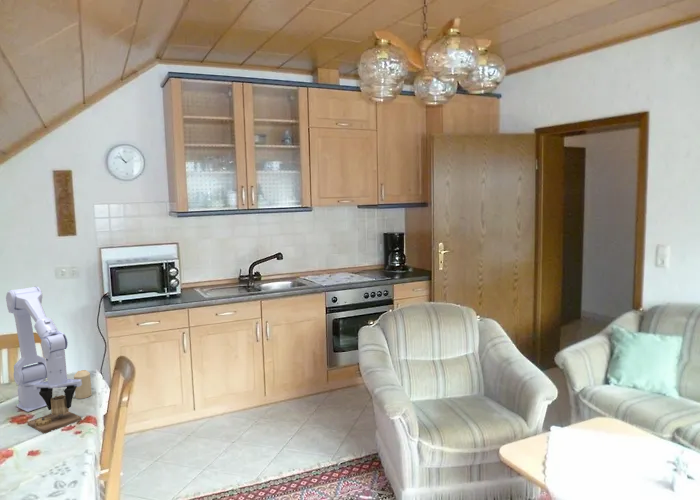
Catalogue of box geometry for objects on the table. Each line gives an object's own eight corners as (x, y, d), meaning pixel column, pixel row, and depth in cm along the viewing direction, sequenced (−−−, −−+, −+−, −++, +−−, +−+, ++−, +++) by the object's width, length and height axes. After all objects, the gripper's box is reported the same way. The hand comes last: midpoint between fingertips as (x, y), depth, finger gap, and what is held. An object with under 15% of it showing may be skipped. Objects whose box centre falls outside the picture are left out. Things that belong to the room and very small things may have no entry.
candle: (84, 399, 191) (82, 373, 190) (72, 398, 192) (70, 373, 191) (94, 393, 196) (93, 368, 195) (82, 393, 197) (80, 368, 196)
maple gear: (48, 413, 172) (47, 398, 171) (64, 407, 176) (63, 393, 176) (56, 416, 169) (54, 402, 168) (71, 410, 173) (70, 396, 173)
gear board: (27, 424, 170) (26, 411, 169) (64, 412, 179) (63, 398, 179) (44, 433, 163) (43, 419, 162) (81, 419, 173) (80, 406, 172)
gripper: (27, 375, 166) (31, 414, 167) (75, 371, 168) (78, 410, 170) (37, 368, 173) (40, 406, 174) (82, 364, 175) (85, 402, 176)
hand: (59, 408), depth 172 cm, fingers closed on maple gear, 5 cm apart
